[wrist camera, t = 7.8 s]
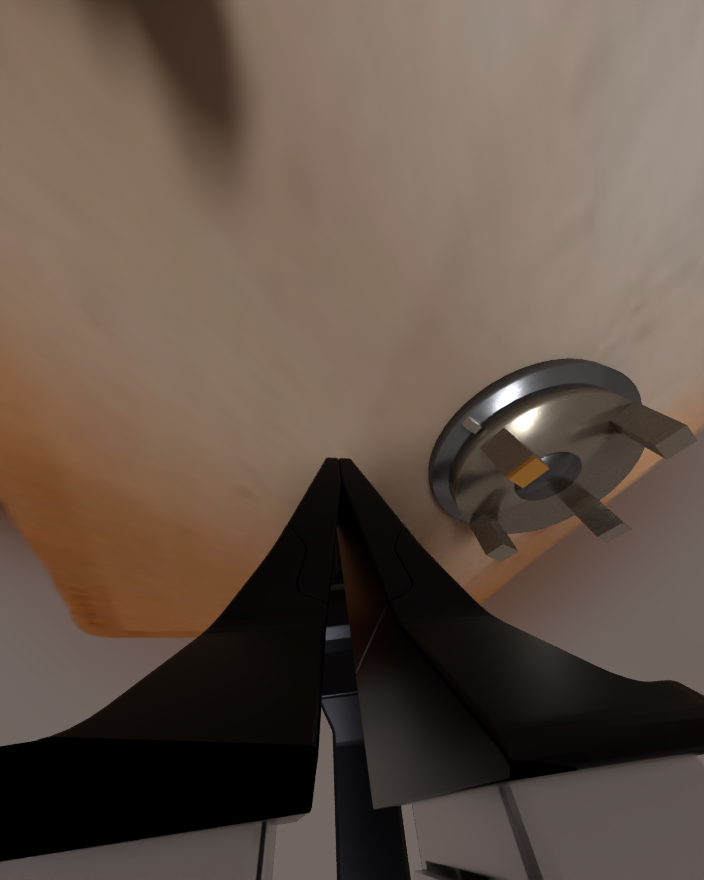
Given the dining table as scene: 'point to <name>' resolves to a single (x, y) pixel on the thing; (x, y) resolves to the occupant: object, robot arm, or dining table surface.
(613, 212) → the dining table surface
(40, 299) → the dining table surface
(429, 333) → the dining table surface
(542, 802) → the robot arm
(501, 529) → the round fixture plate
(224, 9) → the dining table surface
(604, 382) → the base plate
